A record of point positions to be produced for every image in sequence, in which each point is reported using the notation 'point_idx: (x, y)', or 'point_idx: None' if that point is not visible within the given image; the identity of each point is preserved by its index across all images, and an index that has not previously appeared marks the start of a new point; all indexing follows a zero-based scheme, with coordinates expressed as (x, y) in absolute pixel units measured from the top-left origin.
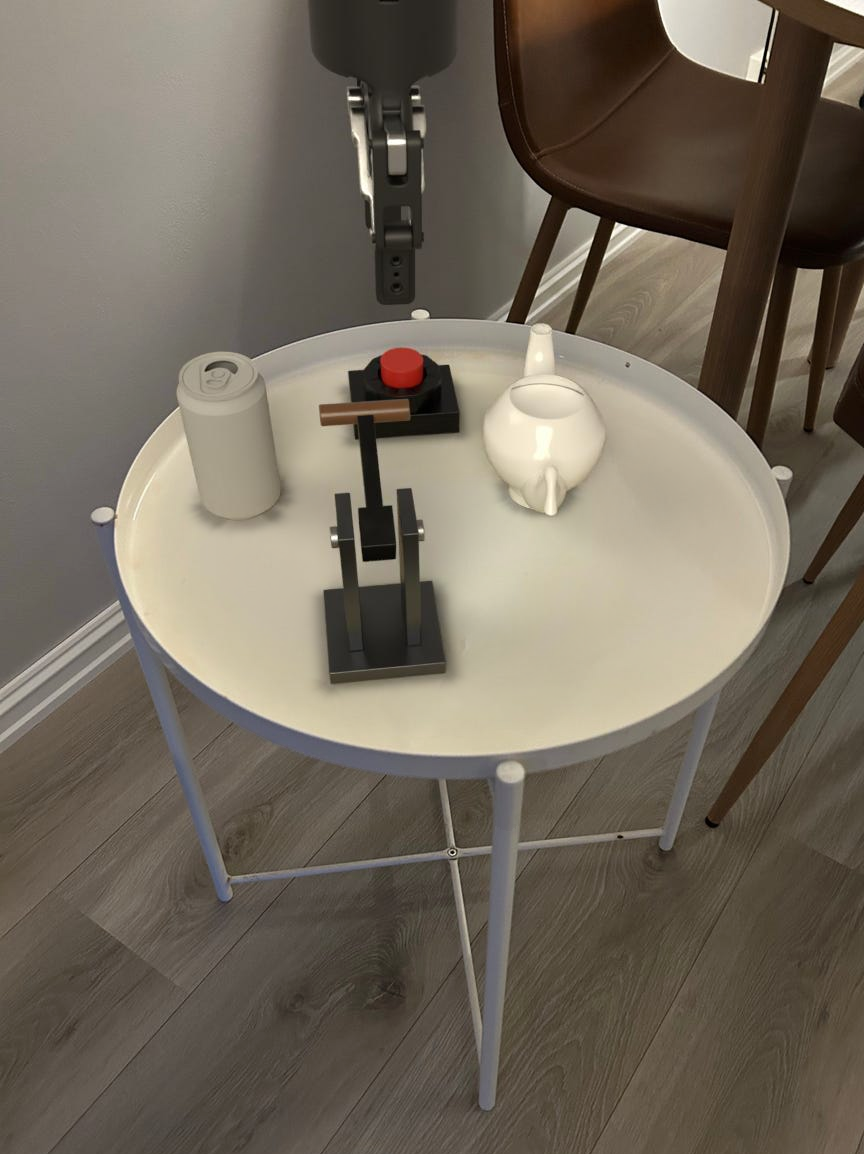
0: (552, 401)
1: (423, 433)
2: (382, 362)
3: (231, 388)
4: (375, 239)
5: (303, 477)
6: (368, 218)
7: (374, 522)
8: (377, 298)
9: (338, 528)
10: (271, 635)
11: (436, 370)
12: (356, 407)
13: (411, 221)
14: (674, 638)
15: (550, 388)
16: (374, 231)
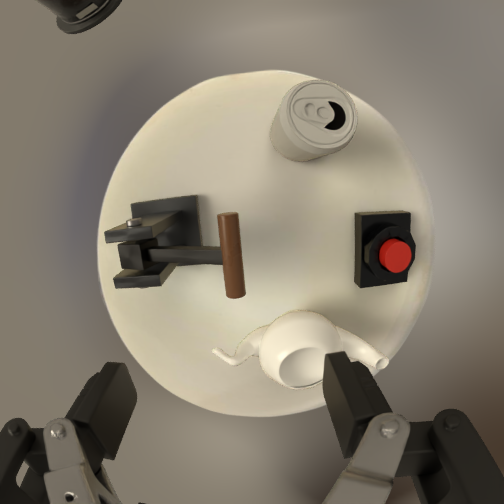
0: (319, 362)
1: (355, 259)
2: (397, 243)
3: (301, 124)
4: (5, 429)
5: (318, 176)
6: (329, 365)
7: (131, 255)
8: (107, 363)
9: (114, 231)
10: (169, 164)
11: (392, 278)
12: (226, 251)
13: (41, 479)
14: (177, 373)
15: None
16: (13, 436)
